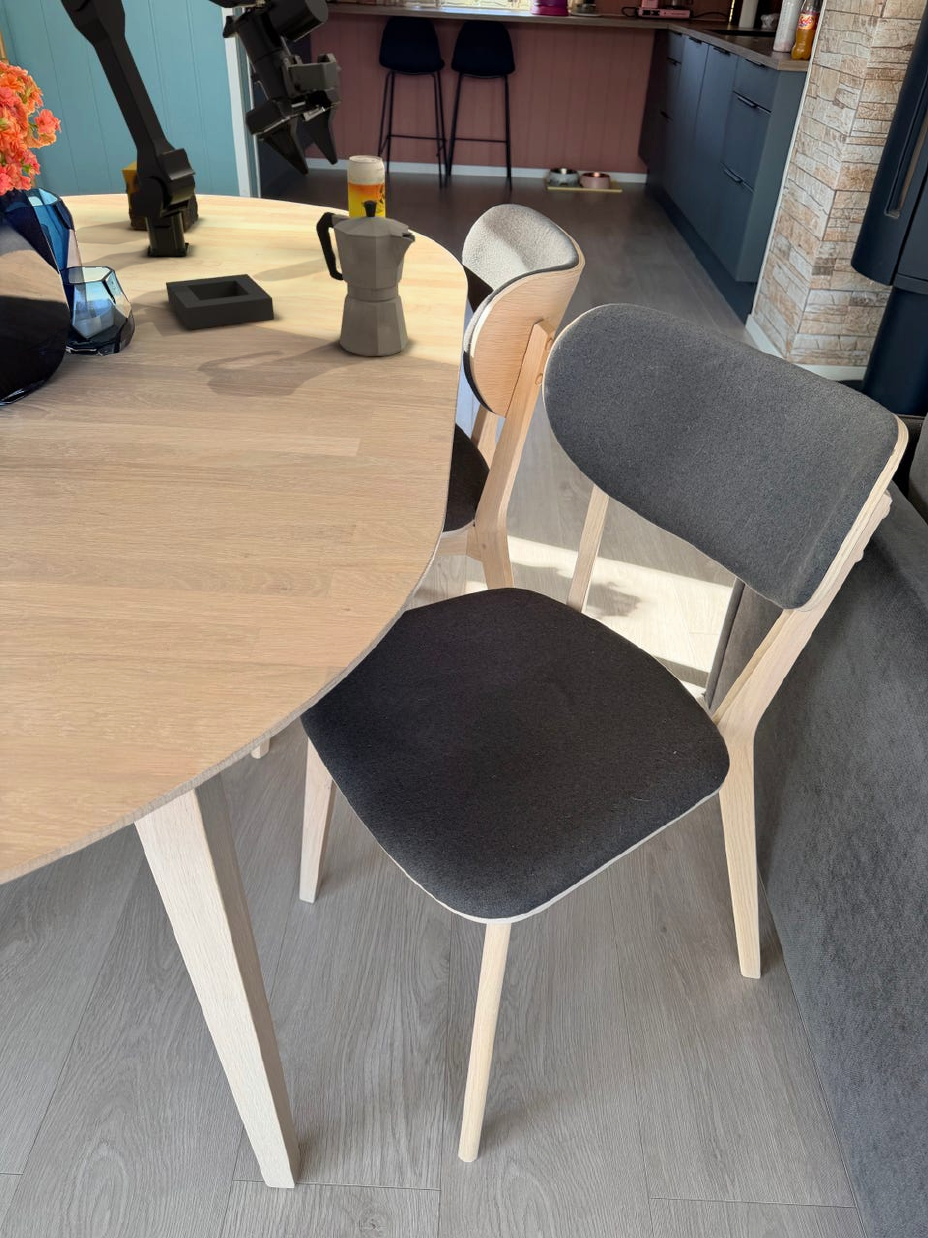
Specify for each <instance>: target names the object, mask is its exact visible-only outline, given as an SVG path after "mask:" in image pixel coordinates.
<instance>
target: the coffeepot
mask: <svg viewBox="0 0 928 1238" xmlns="http://www.w3.org/2000/svg"><path fill="white" fill-rule="evenodd" d="M364 207H365V211H366V216H362V217H356V218H351V219H350V218H349V215H346V214H341V213H335V212H331V211H325V212H324V213H323V214H322V215H321V217H320V218H319V219H318V221H317V223H316V225H315V231H316V235H317V238H318V240H319V243H320V244H319V245H320V247H321V250H322V254H323V257H324V261H325V264H326V267H327V270H328V273H329V276H330V278H332V279H334V280H336V281H340V282H342V281H344V282H345V283H346V289H347V290H346V291H347V292H346V295H345V297H344V302H343V309H342V317H341V319H342V320H341V327H340V336H339V345H340V346H341V347H342V348H343V349H344V350H345V351H347V352H348V353H351V354H354V355H358V356H363V357H364V356H365V357H384V356H391V355H395V354H397V353H398V354H399V353H400V352H402V351H404V349H405V348H406V347H407V344H408V342H409V338H408V332H407V331H408V330H407V325H406V319H405V314H404V307H403V303H402V297H401V295H400V294H399V284H400V282H401V280H402V278H403V270H404V263H405V256H406V254H407V251H408V250H409V248H410V247H411V245H412V244H413V243H415V242H416V235H414V234H413V233H412V232H411V231H409V225H408V224H405V223H403V222H400V221H398V220H396V219H395V218H394V219H393V218H388V217H385V218H384V217H379V216H375V214H376V207H377V202H375V201H372V200H368V201H365V202H364ZM330 229H333V232H334V233H333V234H334V238H335V244H336V248H337V249H336V250H337V254H338V259H339V260H338V261H339V265H340V271H341V272H340V271H339V270H338V269H337V258H336V254H335V252H334V249H333V244H332V239H331V234H330V233H331V232H330Z"/></svg>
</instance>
